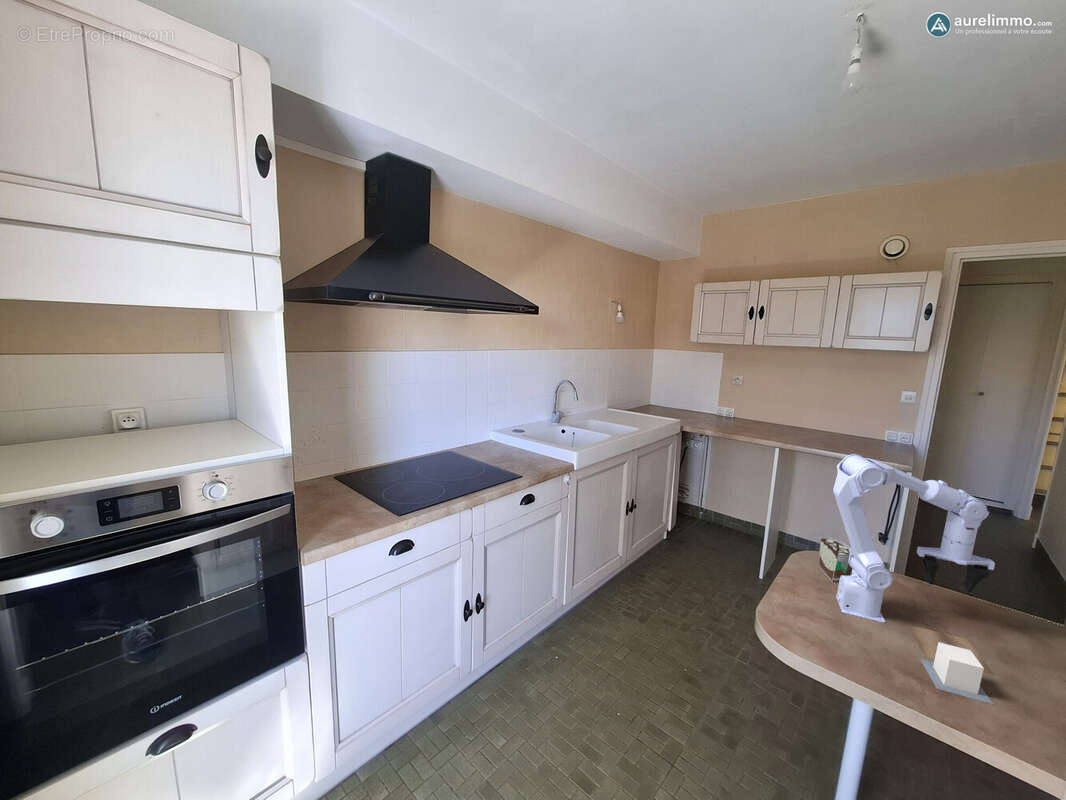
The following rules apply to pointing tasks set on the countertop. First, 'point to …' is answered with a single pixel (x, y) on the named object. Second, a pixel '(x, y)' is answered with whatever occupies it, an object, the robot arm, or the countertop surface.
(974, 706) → the countertop surface
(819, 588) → the countertop surface
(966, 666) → the matte white cube
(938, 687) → the mat
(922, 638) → the board
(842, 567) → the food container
